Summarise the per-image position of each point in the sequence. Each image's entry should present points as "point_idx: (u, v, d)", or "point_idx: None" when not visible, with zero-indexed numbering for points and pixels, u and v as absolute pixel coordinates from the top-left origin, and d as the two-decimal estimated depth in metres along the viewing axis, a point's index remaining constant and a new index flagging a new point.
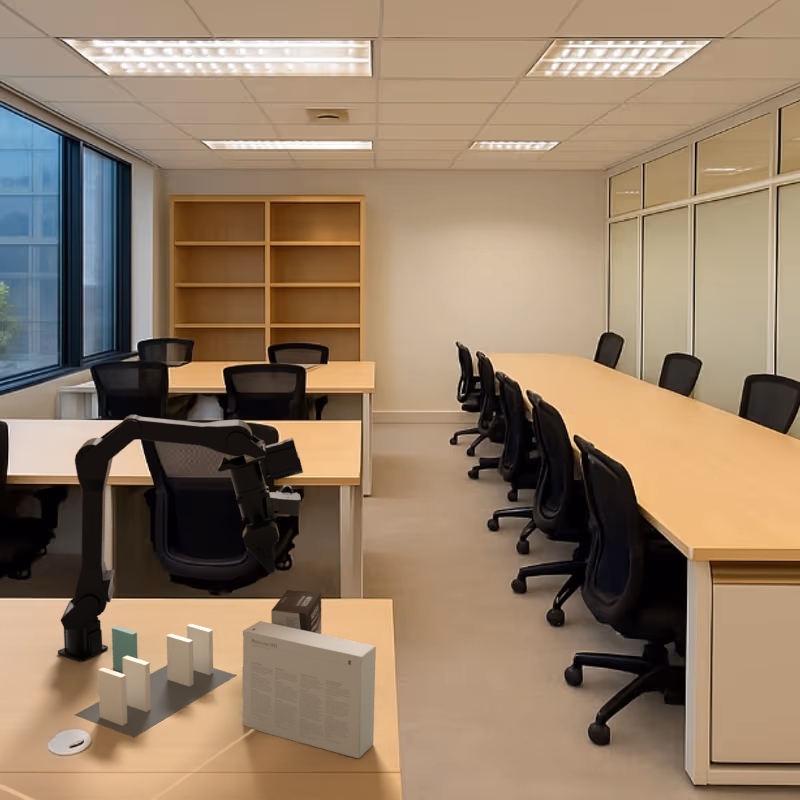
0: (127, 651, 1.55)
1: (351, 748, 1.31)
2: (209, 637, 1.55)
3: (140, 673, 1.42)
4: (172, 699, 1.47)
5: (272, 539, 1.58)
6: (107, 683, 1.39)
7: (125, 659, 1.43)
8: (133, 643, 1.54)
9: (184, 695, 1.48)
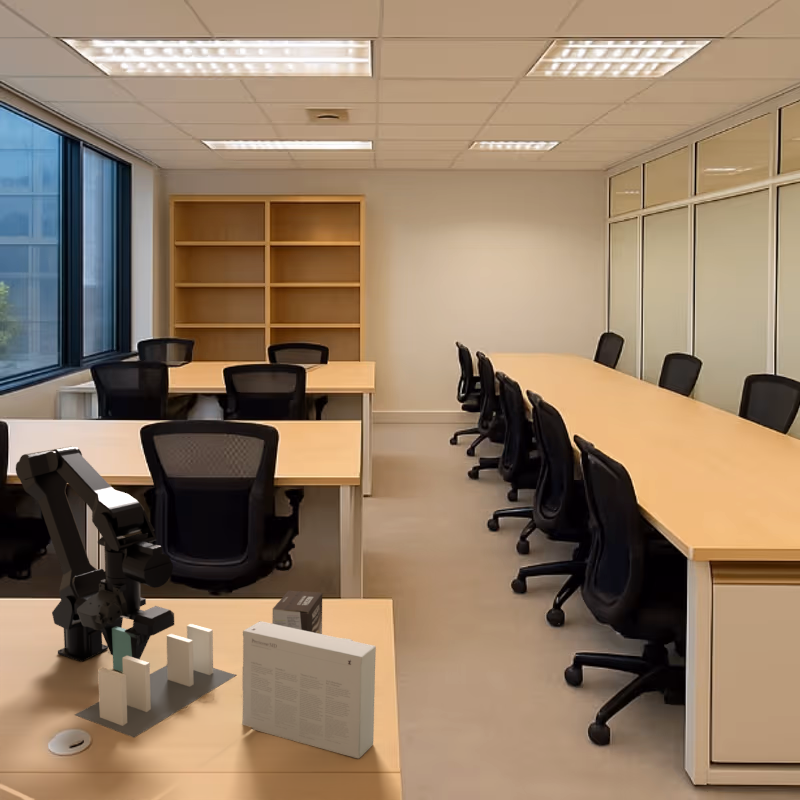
0: (127, 651, 1.55)
1: (351, 748, 1.31)
2: (209, 637, 1.55)
3: (140, 673, 1.42)
4: (172, 699, 1.47)
5: None
6: (107, 683, 1.39)
7: (125, 659, 1.43)
8: None
9: (184, 695, 1.48)
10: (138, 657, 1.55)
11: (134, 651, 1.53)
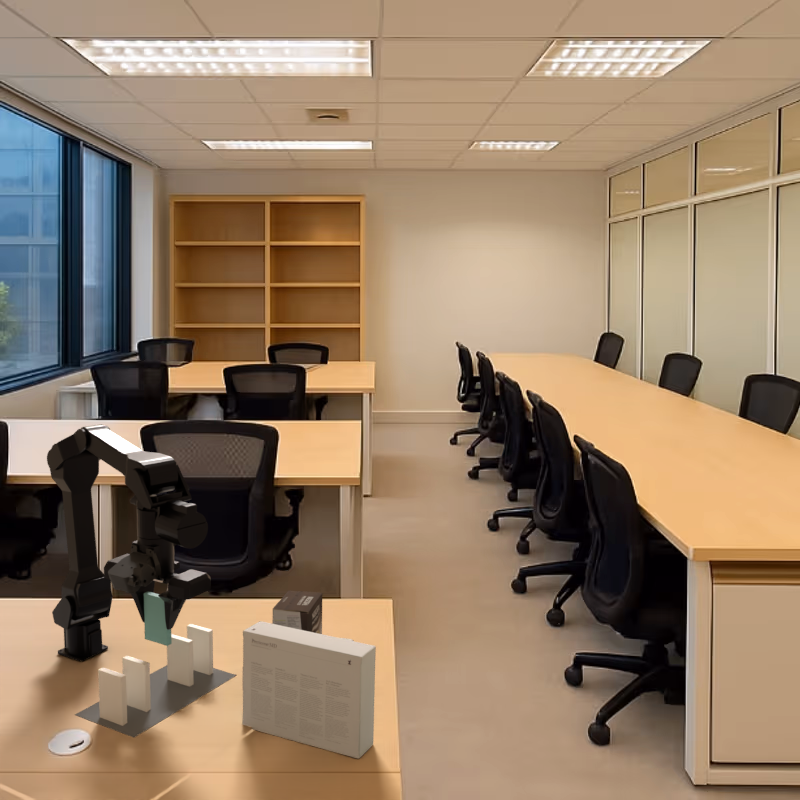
0: (160, 617, 1.45)
1: (351, 748, 1.31)
2: (209, 637, 1.55)
3: (140, 673, 1.42)
4: (172, 699, 1.47)
5: None
6: (107, 683, 1.39)
7: (125, 659, 1.43)
8: None
9: (184, 695, 1.48)
10: (172, 624, 1.45)
11: (168, 617, 1.44)
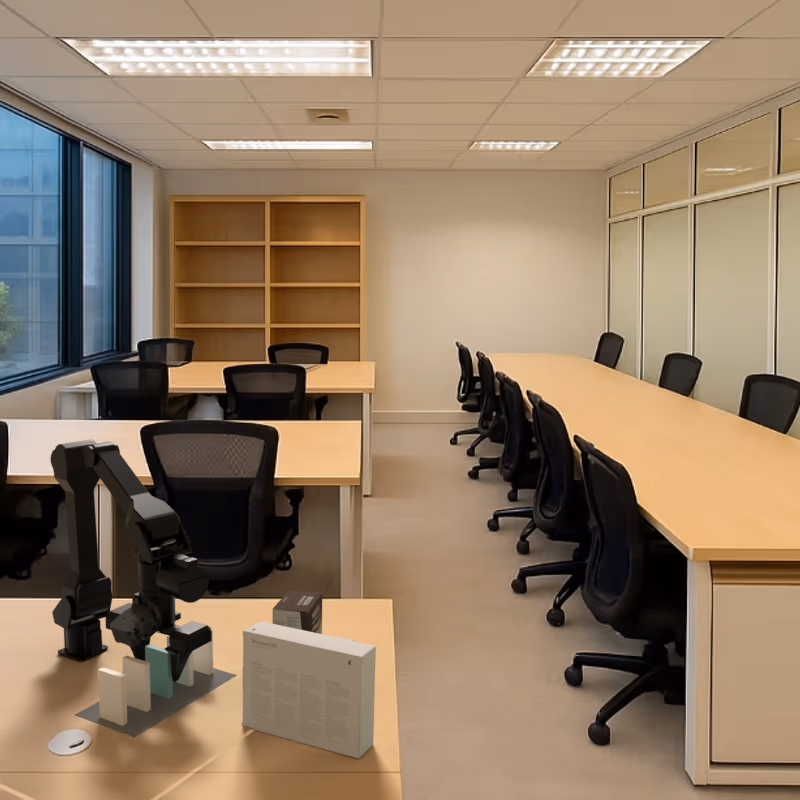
0: (161, 671, 1.47)
1: (351, 748, 1.31)
2: None
3: (140, 673, 1.42)
4: (172, 699, 1.47)
5: None
6: (107, 683, 1.39)
7: (125, 659, 1.43)
8: (168, 662, 1.46)
9: (184, 695, 1.48)
10: (178, 676, 1.46)
11: (174, 670, 1.45)
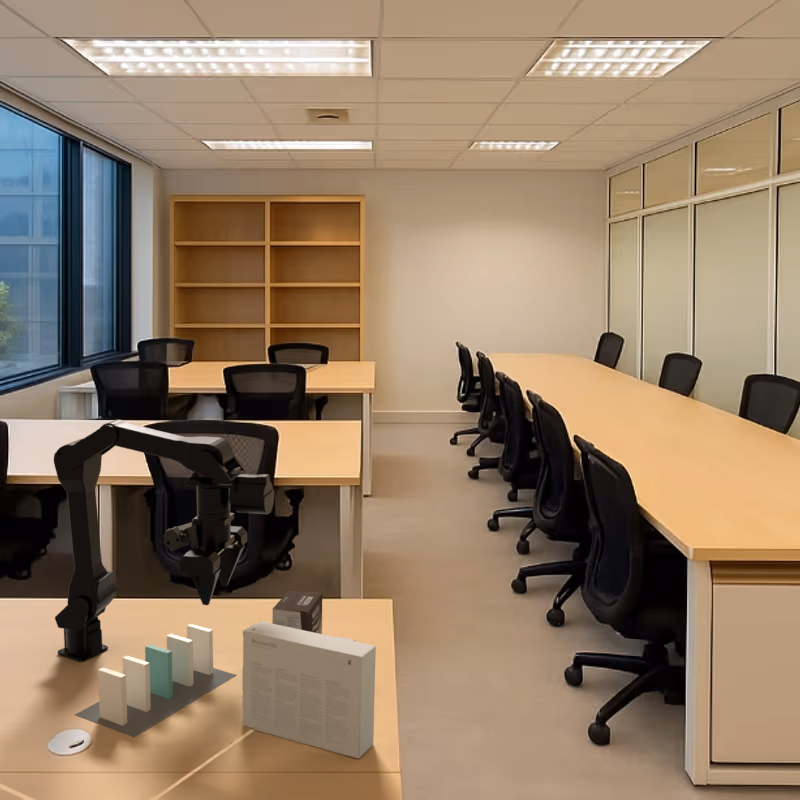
0: (161, 671, 1.47)
1: (351, 748, 1.31)
2: (209, 637, 1.55)
3: (140, 673, 1.42)
4: (172, 699, 1.47)
5: None
6: (107, 683, 1.39)
7: (125, 659, 1.43)
8: (168, 662, 1.46)
9: (184, 695, 1.48)
10: (205, 601, 1.53)
11: None
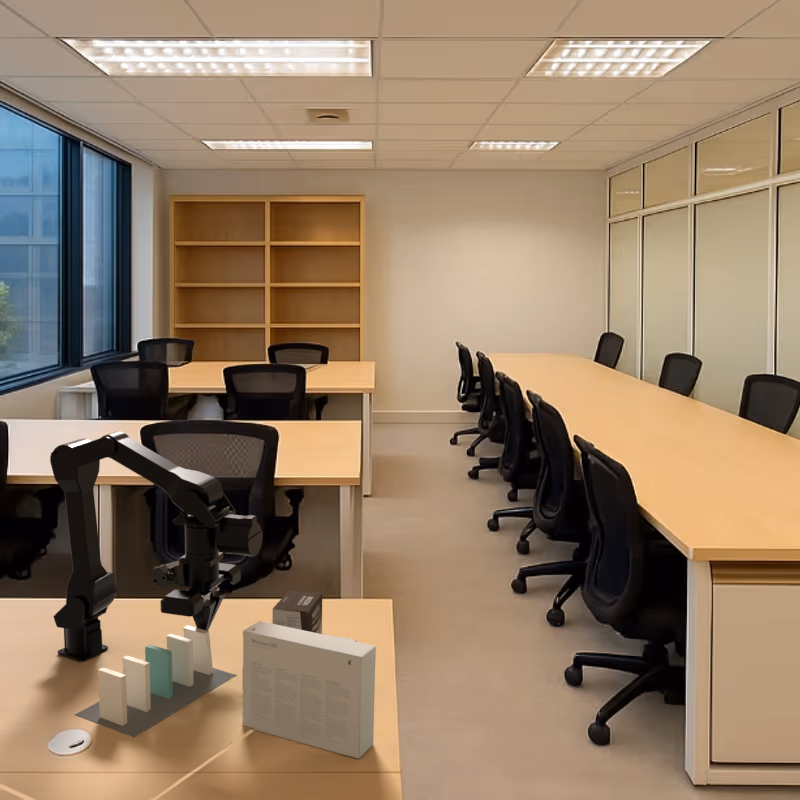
0: (161, 671, 1.47)
1: (351, 748, 1.31)
2: (206, 639, 1.54)
3: (140, 673, 1.42)
4: (172, 699, 1.47)
5: None
6: (107, 683, 1.39)
7: (125, 659, 1.43)
8: (168, 662, 1.46)
9: (184, 695, 1.48)
10: None
11: None
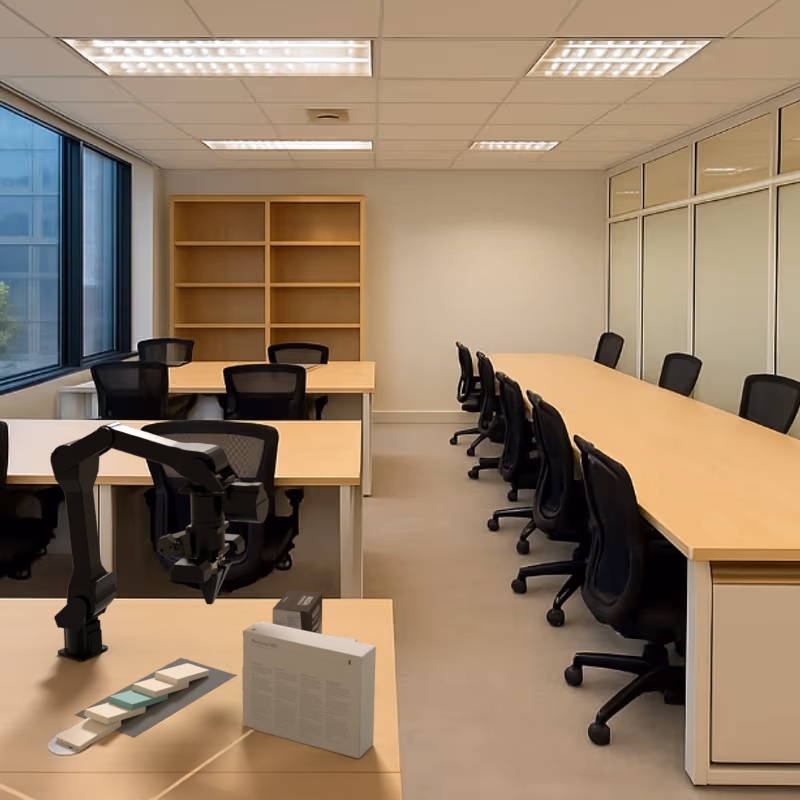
0: None
1: (351, 748, 1.31)
2: (181, 682, 1.49)
3: None
4: (172, 699, 1.47)
5: None
6: None
7: (87, 716, 1.38)
8: (139, 707, 1.41)
9: (184, 695, 1.48)
10: (209, 600, 1.56)
11: (202, 591, 1.56)
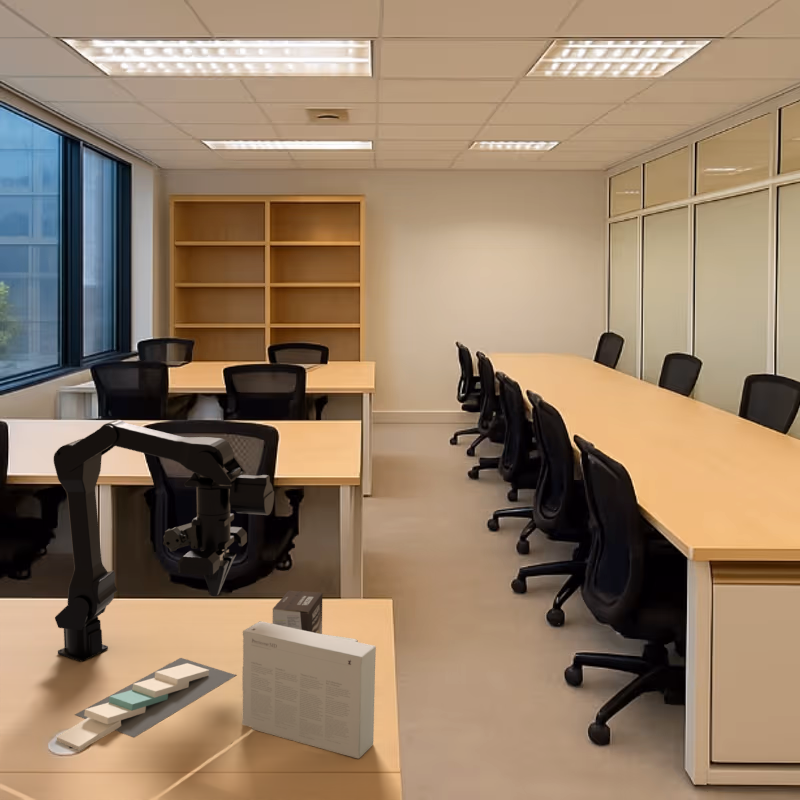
0: None
1: (351, 748, 1.31)
2: (181, 682, 1.49)
3: None
4: (172, 699, 1.47)
5: None
6: None
7: None
8: (139, 707, 1.41)
9: (184, 695, 1.48)
10: (214, 592, 1.58)
11: None
